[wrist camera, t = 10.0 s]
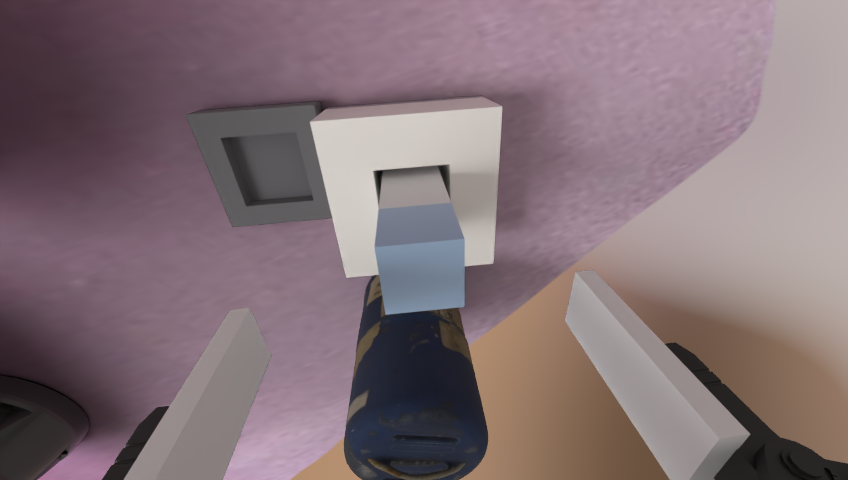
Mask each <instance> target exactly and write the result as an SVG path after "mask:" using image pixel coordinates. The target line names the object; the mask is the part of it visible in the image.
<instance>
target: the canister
mask: <svg viewBox="0 0 848 480" xmlns="http://www.w3.org/2000/svg"><path fill="white" fill-rule="evenodd" d="M487 445H488V431H487V425H486V420H485V416H484V412H483V407H482V403H481V398H480V395H479V390H478V386H477V382H476V378H475V373H474V369H473V364H472V360H471V356H470V351H469V347H468V343H467V340H466V338H465V334H464V329H463V325H462V321H461V315H460V312H459V309H458V308H448V309H438V310H428V311H418V312H408V313H398V314H388V315H386V314H385V308H384V302H383V296H382V290H381V284H380V278H379V275H374V276H373V277H372V278H371V280H370V281H369V283H368V285H367V287H366V290H365V294H364V307H363V313H362V318H361V323H360V329H359V335H358V342H357V349H356V361H355V367H354V374H353V381H352V389H351V396H350V403H349V410H348V416H347V423H346V431H345V438H344V453H345V458H346V461H347V464H348V465H349V467H350V469H351V470H352V471H353V472H354V473H355V474H356V475H357V476H358V477H359V478H361V479H362V480H459V479H461V478H463V477H464V476H466V475H467V474H469V473H470V472H471V471H472V470H474V468H476V467H477V465H478V464H479V463H480V462H481V461H482V459H483V457H484V455H485V453H486V449H487Z"/></svg>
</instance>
